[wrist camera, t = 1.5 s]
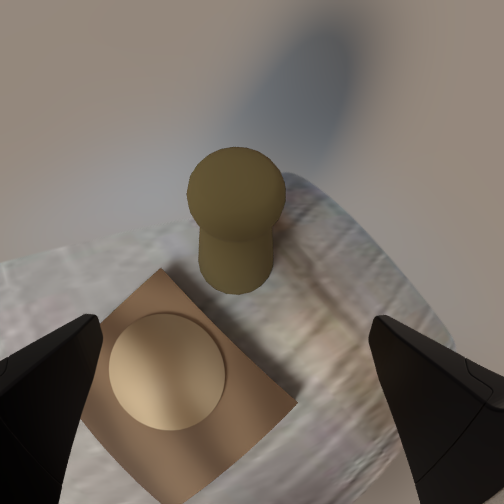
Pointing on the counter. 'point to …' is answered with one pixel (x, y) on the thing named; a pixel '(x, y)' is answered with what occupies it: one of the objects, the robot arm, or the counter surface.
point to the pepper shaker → (236, 217)
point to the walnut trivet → (176, 394)
